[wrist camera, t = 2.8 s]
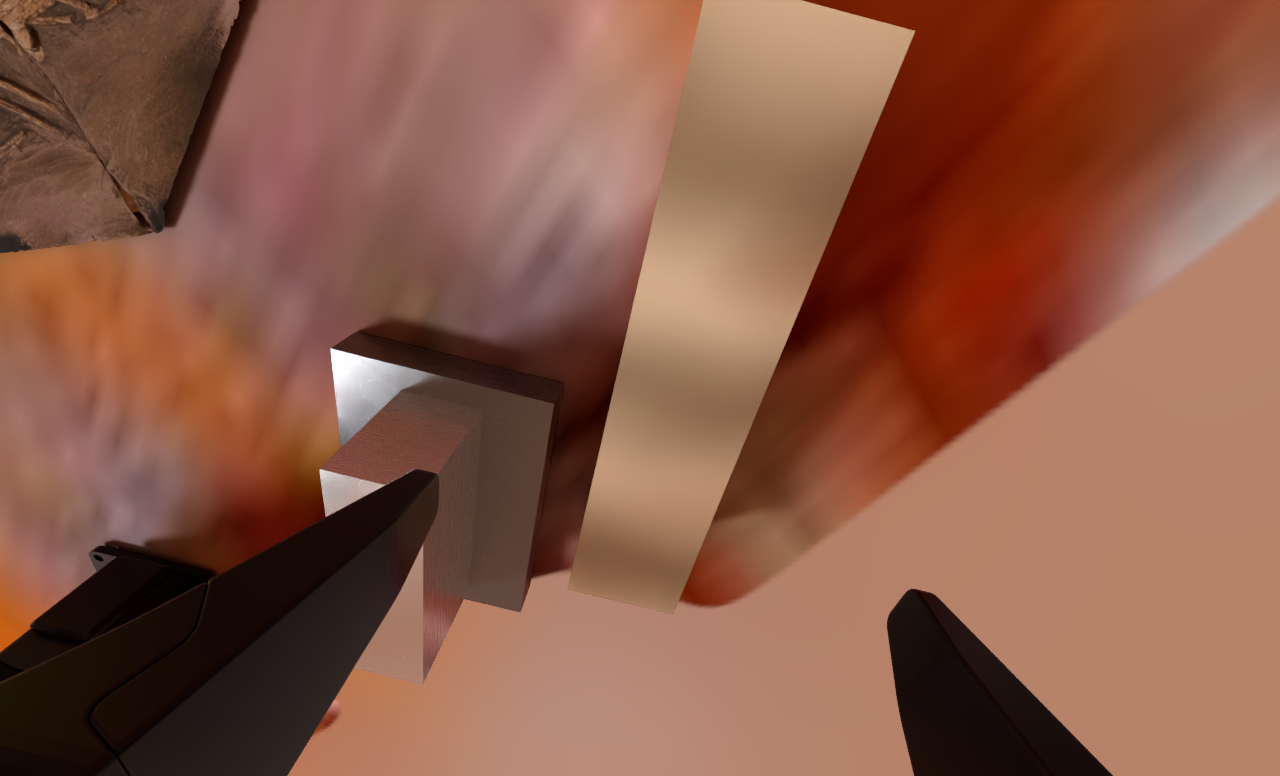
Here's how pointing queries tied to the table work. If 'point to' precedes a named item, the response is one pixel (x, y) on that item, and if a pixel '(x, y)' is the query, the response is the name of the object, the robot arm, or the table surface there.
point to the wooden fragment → (99, 112)
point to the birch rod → (726, 273)
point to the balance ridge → (444, 480)
